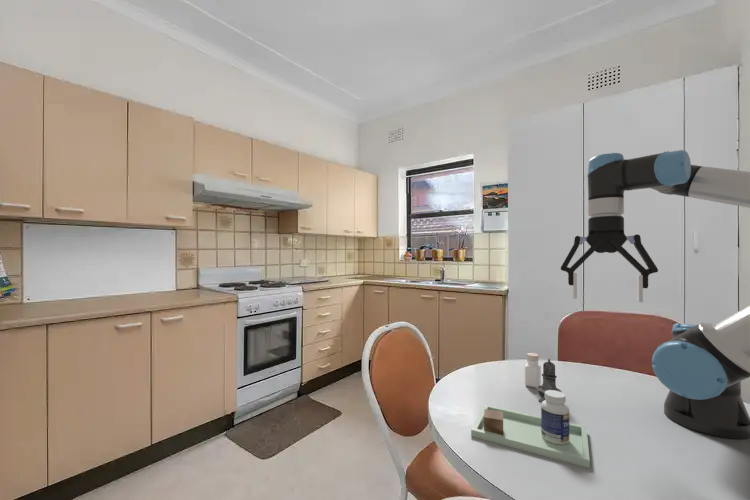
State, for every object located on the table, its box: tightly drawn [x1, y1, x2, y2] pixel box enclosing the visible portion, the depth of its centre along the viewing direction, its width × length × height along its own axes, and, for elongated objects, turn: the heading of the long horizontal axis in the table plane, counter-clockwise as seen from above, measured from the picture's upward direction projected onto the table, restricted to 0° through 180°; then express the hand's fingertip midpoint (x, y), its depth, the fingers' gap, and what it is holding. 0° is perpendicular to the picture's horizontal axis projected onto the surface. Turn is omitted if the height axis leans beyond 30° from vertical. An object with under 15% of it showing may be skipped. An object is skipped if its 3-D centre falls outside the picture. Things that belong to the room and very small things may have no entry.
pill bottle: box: [540, 390, 570, 445], centre depth 73 cm, size 5×5×10 cm
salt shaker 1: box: [524, 352, 542, 389], centre depth 103 cm, size 4×4×10 cm
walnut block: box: [484, 409, 503, 435], centre depth 75 cm, size 4×4×4 cm
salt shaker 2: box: [536, 358, 562, 404], centre depth 91 cm, size 6×6×12 cm
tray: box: [470, 404, 591, 469], centre depth 74 cm, size 22×14×2 cm, turn 60°
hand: (606, 299), depth 86 cm, fingers open, 13 cm apart
